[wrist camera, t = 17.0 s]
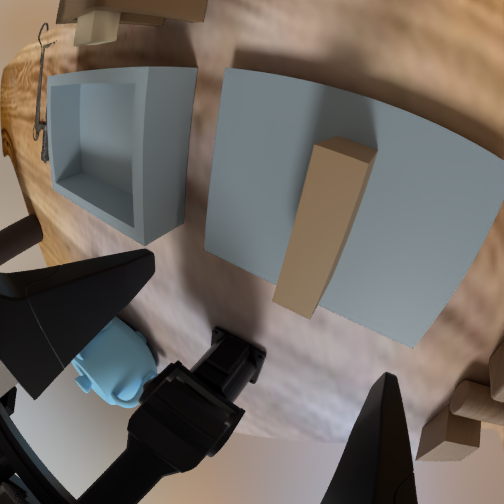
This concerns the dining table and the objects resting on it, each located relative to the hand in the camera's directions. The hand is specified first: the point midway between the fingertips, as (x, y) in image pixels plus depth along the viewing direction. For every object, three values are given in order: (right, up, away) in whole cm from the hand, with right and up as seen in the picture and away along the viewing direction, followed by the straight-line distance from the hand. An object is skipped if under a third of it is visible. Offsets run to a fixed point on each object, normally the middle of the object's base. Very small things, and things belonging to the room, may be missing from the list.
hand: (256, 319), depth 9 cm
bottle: (-49, +8, +43) cm, 66 cm away
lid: (+6, +5, +9) cm, 11 cm away
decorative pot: (-21, -14, +38) cm, 45 cm away
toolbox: (-13, +17, +14) cm, 25 cm away
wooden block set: (+27, -13, +7) cm, 30 cm away
